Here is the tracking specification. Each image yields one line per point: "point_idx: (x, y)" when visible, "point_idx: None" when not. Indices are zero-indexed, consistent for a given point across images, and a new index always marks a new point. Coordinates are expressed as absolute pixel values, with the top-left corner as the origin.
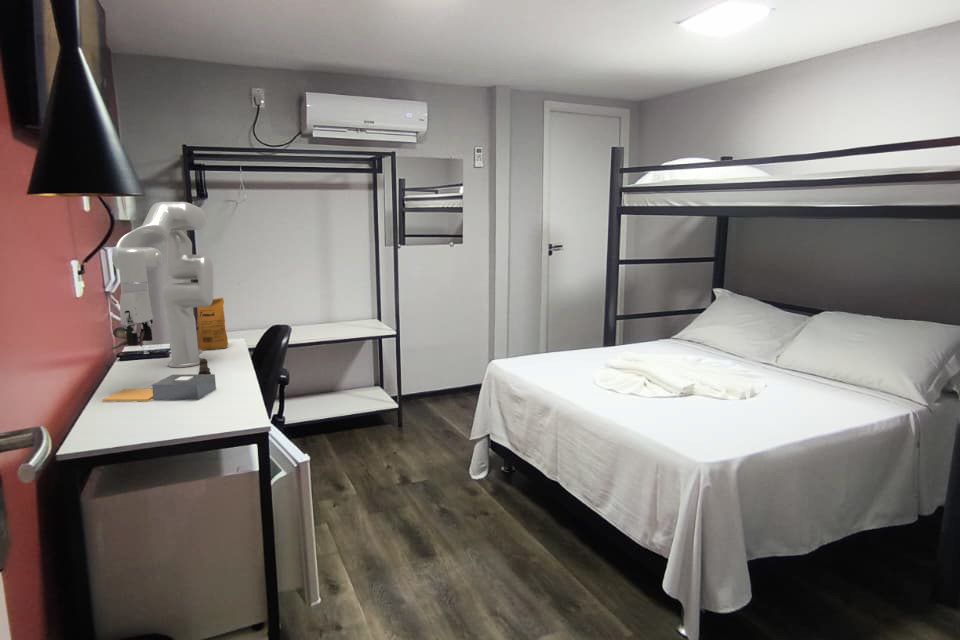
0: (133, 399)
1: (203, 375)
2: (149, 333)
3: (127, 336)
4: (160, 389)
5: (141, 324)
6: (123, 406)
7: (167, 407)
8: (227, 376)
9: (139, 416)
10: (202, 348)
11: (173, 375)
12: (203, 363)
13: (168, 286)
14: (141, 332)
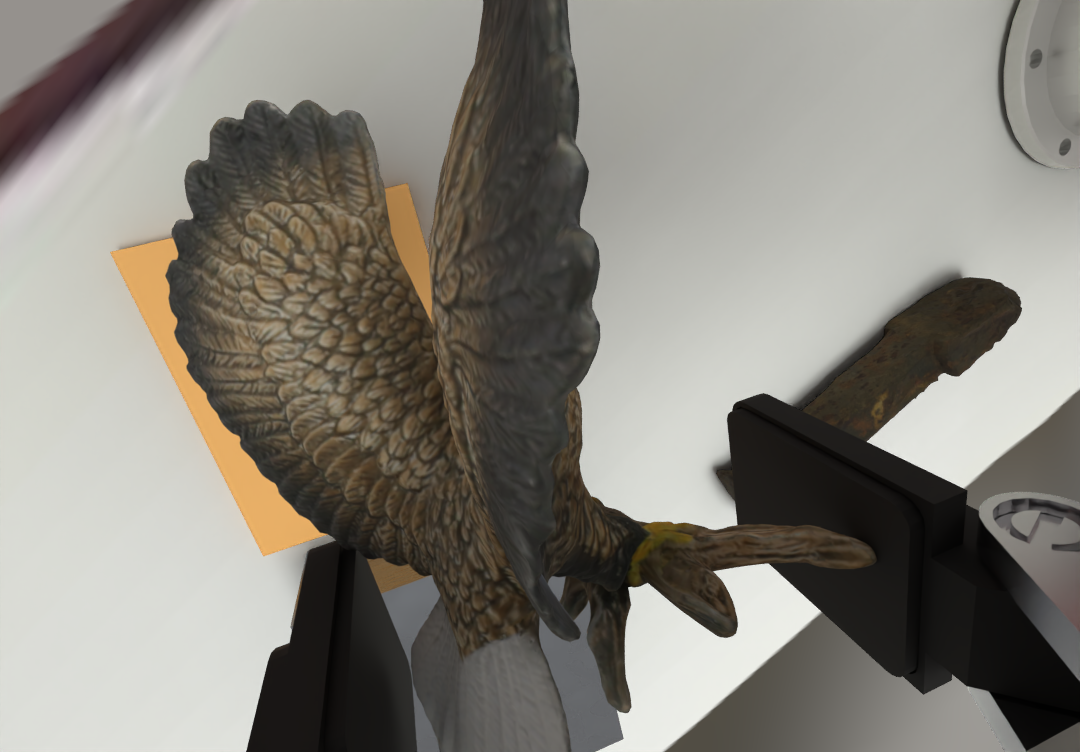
0: (224, 475)
1: (588, 709)
2: (829, 604)
3: (292, 701)
4: None
5: (1062, 639)
6: (114, 493)
7: (225, 727)
8: None
9: (9, 745)
10: None
11: None
12: (936, 365)
13: None
14: (730, 633)
